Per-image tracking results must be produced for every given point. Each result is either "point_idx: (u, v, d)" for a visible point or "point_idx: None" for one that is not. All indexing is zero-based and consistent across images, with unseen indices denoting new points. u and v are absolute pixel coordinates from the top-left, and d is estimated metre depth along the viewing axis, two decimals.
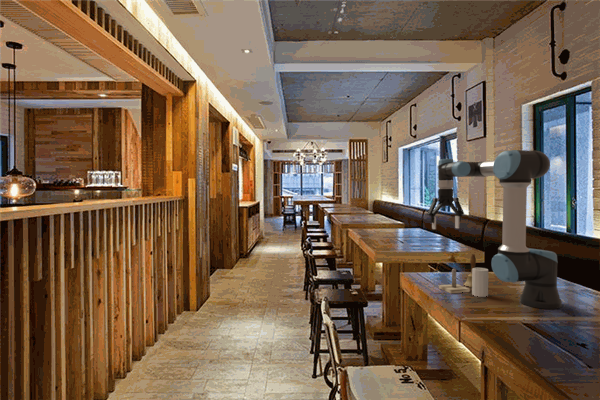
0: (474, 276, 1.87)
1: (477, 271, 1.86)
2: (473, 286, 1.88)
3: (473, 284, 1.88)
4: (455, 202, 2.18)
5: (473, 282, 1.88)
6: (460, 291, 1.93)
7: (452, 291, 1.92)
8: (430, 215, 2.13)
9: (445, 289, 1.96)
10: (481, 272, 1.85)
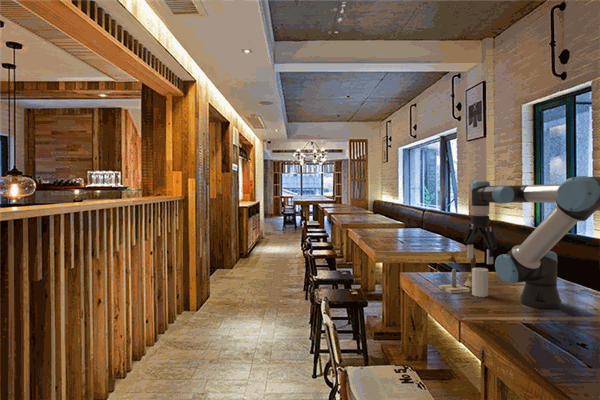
0: (474, 276, 1.87)
1: (477, 271, 1.86)
2: (473, 286, 1.88)
3: (473, 284, 1.88)
4: None
5: (473, 282, 1.88)
6: (460, 291, 1.93)
7: (452, 291, 1.92)
8: (464, 242, 1.97)
9: (445, 289, 1.96)
10: (481, 272, 1.85)
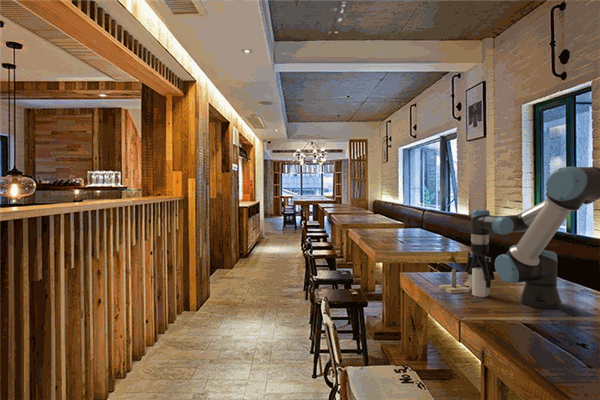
0: (474, 276, 1.87)
1: (477, 271, 1.86)
2: (473, 286, 1.88)
3: (473, 284, 1.88)
4: None
5: (473, 282, 1.88)
6: (460, 291, 1.93)
7: (452, 291, 1.92)
8: (466, 271, 1.96)
9: (445, 289, 1.96)
10: (481, 272, 1.85)
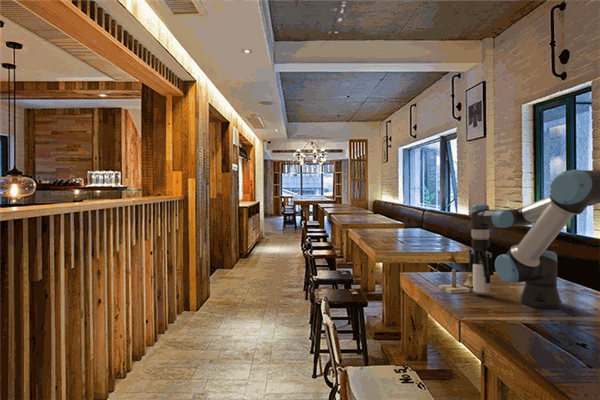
0: (475, 272, 1.86)
1: (478, 267, 1.85)
2: (474, 282, 1.87)
3: (474, 280, 1.87)
4: None
5: (474, 278, 1.87)
6: (460, 291, 1.93)
7: (452, 291, 1.92)
8: (469, 270, 1.93)
9: (445, 289, 1.96)
10: (482, 268, 1.84)
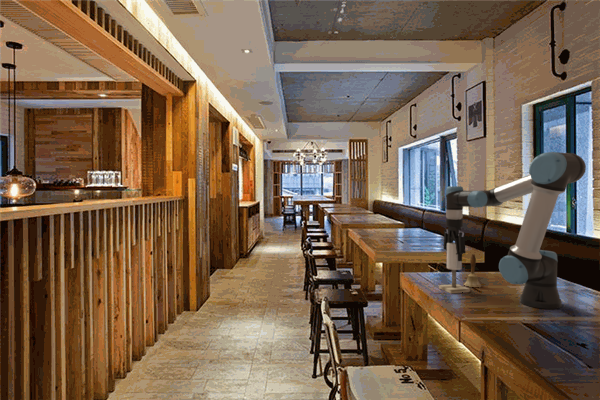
0: (448, 250, 1.96)
1: (451, 245, 1.94)
2: (447, 260, 1.97)
3: (447, 258, 1.97)
4: None
5: (447, 256, 1.97)
6: (460, 291, 1.93)
7: (452, 291, 1.92)
8: None
9: (445, 289, 1.96)
10: (455, 246, 1.94)
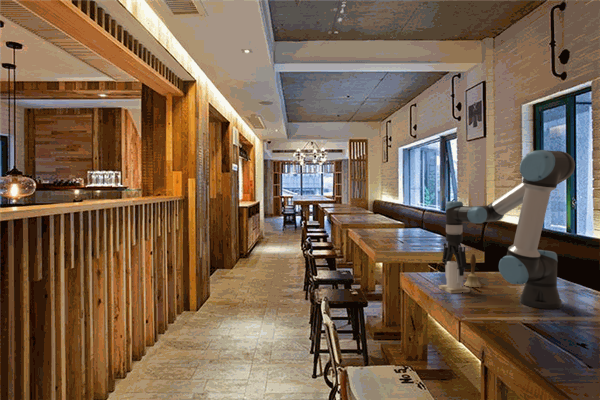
0: (448, 269, 1.96)
1: (451, 264, 1.95)
2: (447, 278, 1.97)
3: (447, 276, 1.97)
4: None
5: (447, 275, 1.97)
6: (460, 291, 1.93)
7: (452, 291, 1.92)
8: None
9: (445, 289, 1.96)
10: (455, 265, 1.94)
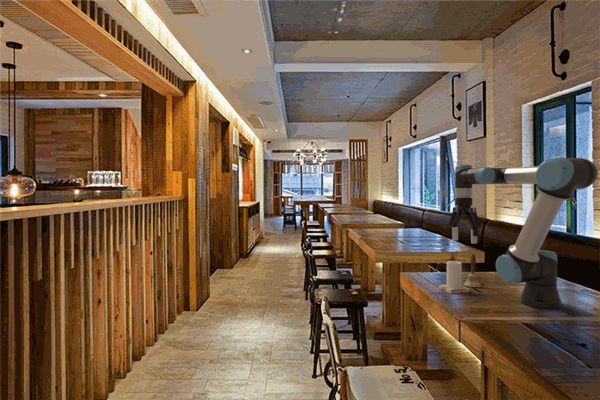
0: (448, 269, 1.96)
1: (451, 264, 1.95)
2: (447, 278, 1.97)
3: (447, 276, 1.97)
4: None
5: (447, 275, 1.97)
6: (460, 291, 1.93)
7: (452, 291, 1.92)
8: (449, 225, 2.04)
9: (445, 289, 1.96)
10: (455, 265, 1.94)
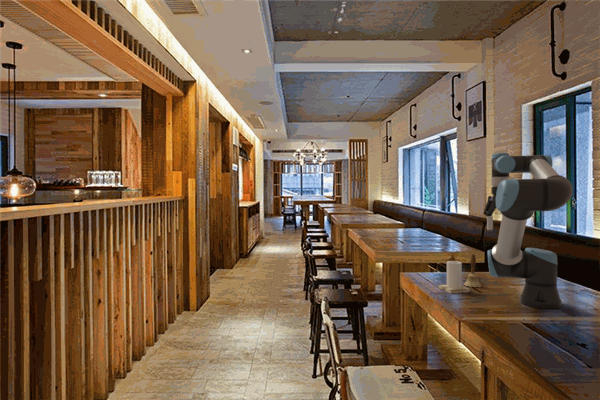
0: (448, 269, 1.96)
1: (451, 264, 1.95)
2: (447, 278, 1.97)
3: (447, 276, 1.97)
4: None
5: (447, 275, 1.97)
6: (460, 291, 1.93)
7: (452, 291, 1.92)
8: (484, 214, 2.02)
9: (445, 289, 1.96)
10: (455, 265, 1.94)
